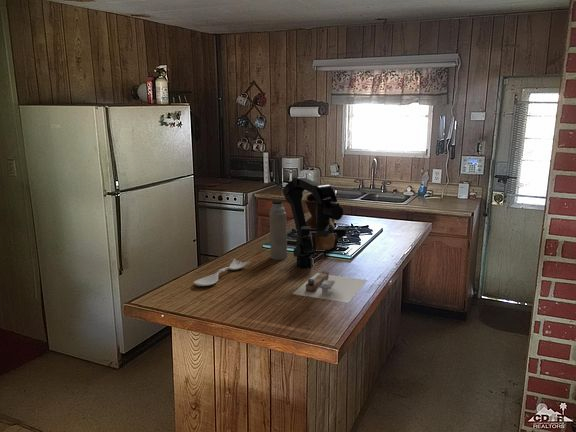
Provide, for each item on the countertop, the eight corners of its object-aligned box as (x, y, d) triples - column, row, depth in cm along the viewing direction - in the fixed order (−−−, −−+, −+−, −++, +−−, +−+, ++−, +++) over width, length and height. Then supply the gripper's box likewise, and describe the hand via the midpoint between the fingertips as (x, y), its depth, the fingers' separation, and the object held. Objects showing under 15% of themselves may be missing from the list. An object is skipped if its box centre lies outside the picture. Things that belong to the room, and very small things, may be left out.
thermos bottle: (274, 254, 243) (272, 199, 236) (289, 255, 240) (287, 199, 234) (268, 259, 236) (266, 202, 229) (284, 260, 233) (282, 203, 226)
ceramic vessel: (343, 246, 252) (343, 189, 245) (322, 258, 235) (322, 197, 228) (316, 242, 261) (315, 187, 254) (295, 253, 243) (293, 194, 236)
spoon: (250, 267, 225) (250, 260, 224) (206, 291, 198) (205, 283, 197) (235, 264, 229) (234, 257, 229) (189, 287, 203) (188, 279, 202)
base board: (292, 295, 191) (292, 293, 191) (316, 274, 213) (316, 273, 212) (348, 304, 181) (348, 302, 181) (367, 282, 203) (367, 280, 203)
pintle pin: (307, 284, 192) (307, 280, 192) (309, 282, 194) (309, 278, 194) (312, 285, 191) (312, 281, 191) (315, 283, 193) (315, 279, 193)
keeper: (317, 294, 189) (317, 286, 188) (325, 287, 196) (324, 279, 195) (330, 296, 187) (330, 287, 186) (337, 289, 194) (337, 281, 193)
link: (314, 292, 191) (314, 287, 190) (303, 290, 192) (303, 286, 192) (331, 276, 207) (331, 272, 206) (321, 275, 209) (321, 270, 208)
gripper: (299, 219, 195) (299, 256, 199) (346, 220, 193) (345, 257, 197) (301, 212, 206) (301, 248, 209) (345, 213, 203) (345, 248, 207)
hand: (323, 250), depth 205 cm, fingers open, 9 cm apart
